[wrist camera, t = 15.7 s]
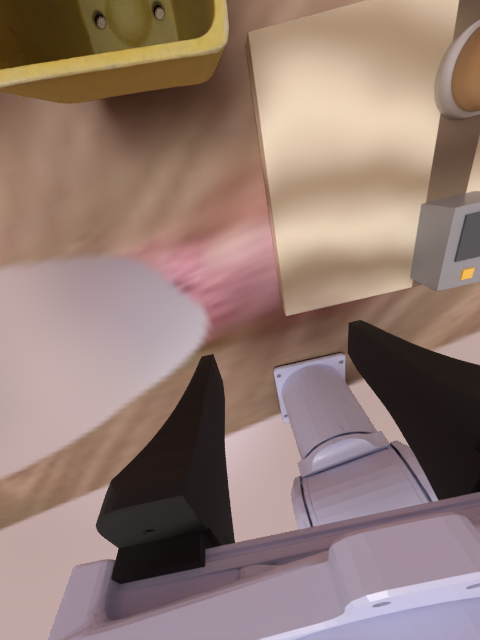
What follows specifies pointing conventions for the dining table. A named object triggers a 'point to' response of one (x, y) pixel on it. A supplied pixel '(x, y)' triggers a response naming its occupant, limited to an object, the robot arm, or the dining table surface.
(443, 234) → the box
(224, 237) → the dining table surface
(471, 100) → the brown cylinder
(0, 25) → the flower pot
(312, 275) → the board
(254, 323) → the dining table surface
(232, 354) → the dining table surface
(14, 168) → the dining table surface
